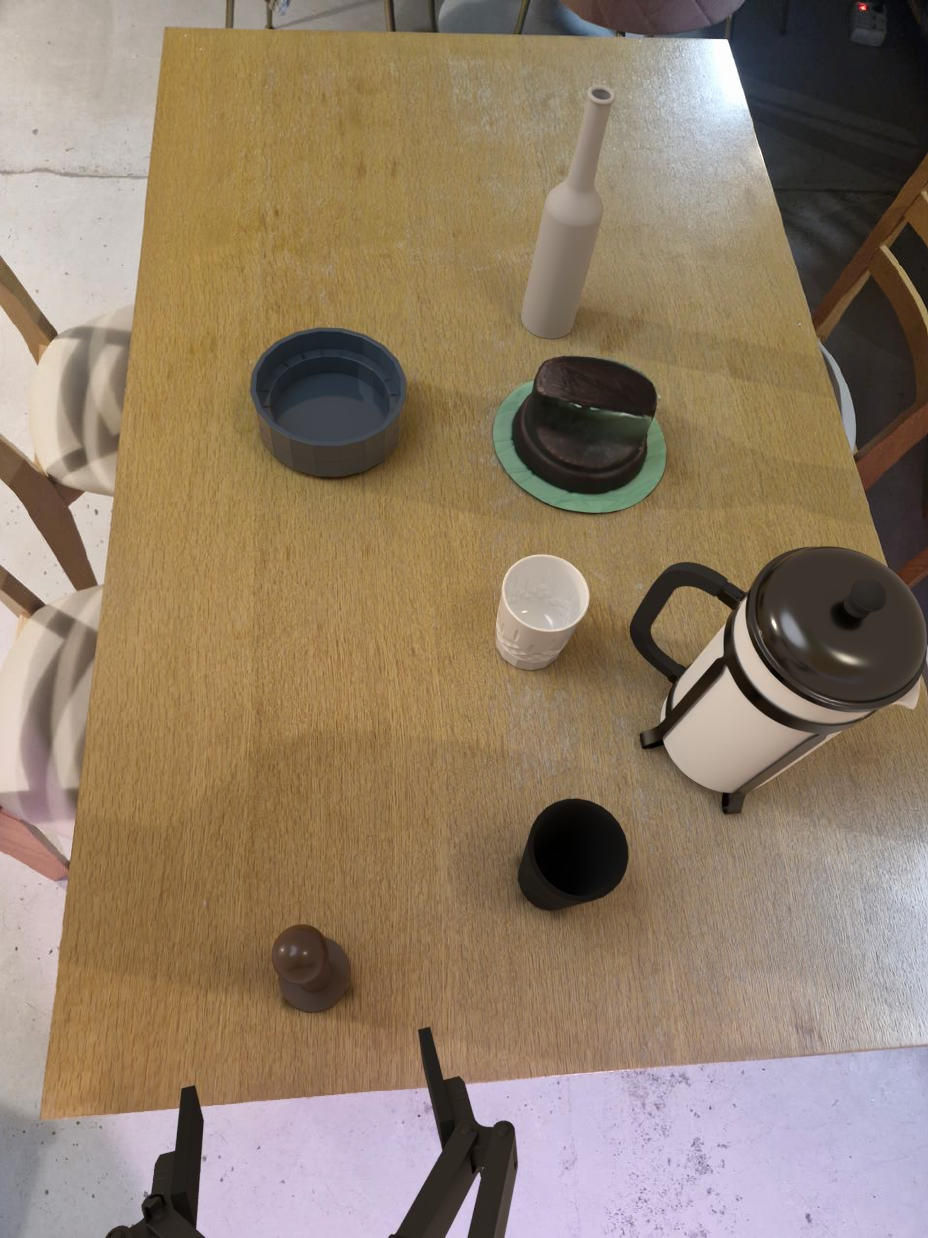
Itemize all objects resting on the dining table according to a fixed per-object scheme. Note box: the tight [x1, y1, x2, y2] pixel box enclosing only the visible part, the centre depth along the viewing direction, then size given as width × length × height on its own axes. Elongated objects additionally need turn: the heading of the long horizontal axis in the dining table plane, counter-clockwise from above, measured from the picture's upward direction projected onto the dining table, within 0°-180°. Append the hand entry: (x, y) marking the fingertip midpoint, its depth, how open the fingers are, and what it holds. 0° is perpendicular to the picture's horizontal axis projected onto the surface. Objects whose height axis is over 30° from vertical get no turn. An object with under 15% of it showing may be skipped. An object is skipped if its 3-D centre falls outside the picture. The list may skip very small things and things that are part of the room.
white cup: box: [494, 553, 590, 672], centre depth 80 cm, size 8×8×10 cm
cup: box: [517, 797, 630, 912], centre depth 69 cm, size 8×8×12 cm
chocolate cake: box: [492, 354, 667, 514], centre depth 94 cm, size 15×19×20 cm
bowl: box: [249, 326, 407, 478], centre depth 92 cm, size 16×16×6 cm
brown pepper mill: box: [270, 923, 351, 1014], centre depth 61 cm, size 6×6×18 cm
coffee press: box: [629, 545, 928, 816], centre depth 69 cm, size 17×16×30 cm
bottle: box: [520, 84, 617, 340], centre depth 93 cm, size 7×7×28 cm
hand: (312, 1073), depth 50 cm, fingers open, 13 cm apart
